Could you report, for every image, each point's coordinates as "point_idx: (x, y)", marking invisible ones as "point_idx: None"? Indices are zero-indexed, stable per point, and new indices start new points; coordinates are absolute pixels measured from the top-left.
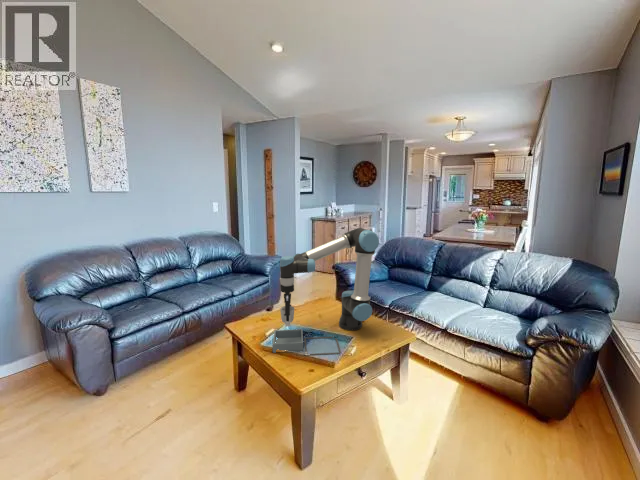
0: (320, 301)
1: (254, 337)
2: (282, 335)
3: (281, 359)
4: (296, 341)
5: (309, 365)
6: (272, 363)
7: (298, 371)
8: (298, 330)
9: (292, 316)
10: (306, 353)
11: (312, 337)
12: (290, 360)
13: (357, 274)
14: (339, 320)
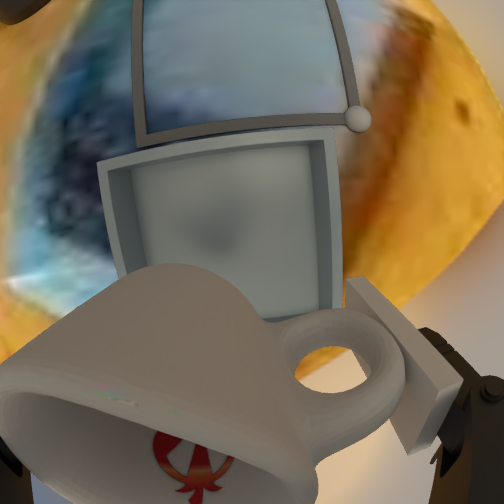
0: None
1: None
2: None
3: (391, 256)
4: (194, 192)
5: (437, 113)
6: (414, 291)
7: (471, 168)
8: (112, 191)
9: (219, 306)
10: (370, 115)
11: (133, 95)
12: (403, 207)
13: None
14: (11, 10)
